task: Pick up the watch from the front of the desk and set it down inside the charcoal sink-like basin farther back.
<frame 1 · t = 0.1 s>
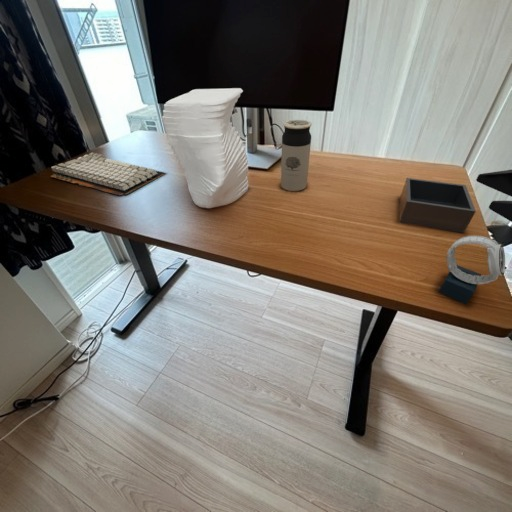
hand: (483, 190, 40), 18 cm above the table, tool horizontal, fingers open, 9 cm apart
travel mug: (293, 186, 83), on the table
watch: (455, 290, 49), on the table
basin: (428, 213, 69), on the table
paper stack: (212, 196, 80), on the table
mechanical keyboard: (107, 175, 94), on the table
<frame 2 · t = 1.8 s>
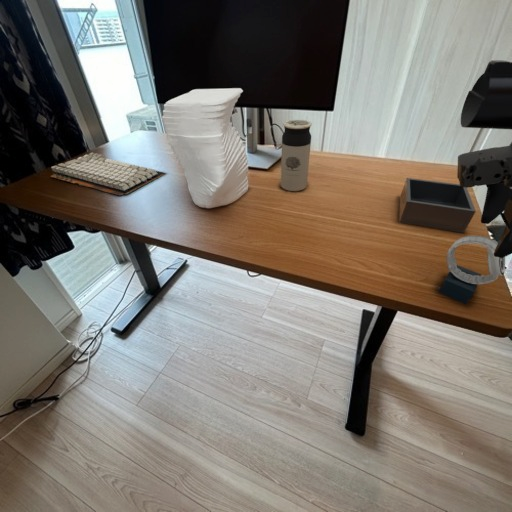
hand: (490, 238, 41), 12 cm above the table, tool pointing down, fingers open, 9 cm apart
nothing on the table moved.
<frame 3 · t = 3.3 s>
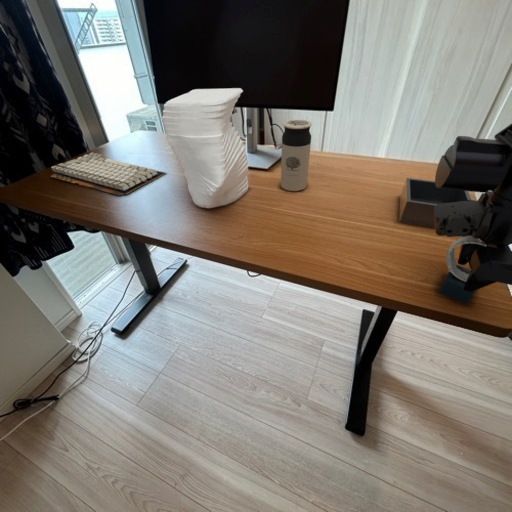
hand: (463, 276, 47), 3 cm above the table, tool pointing down, fingers closed on watch, 7 cm apart
watch: (455, 290, 49), on the table, touching gripper
everything else where it was.
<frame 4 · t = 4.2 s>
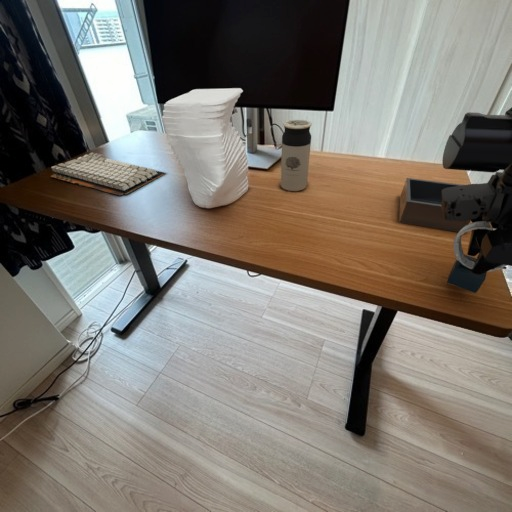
hand: (473, 263, 45), 6 cm above the table, tool pointing down, fingers closed on watch, 4 cm apart
watch: (463, 280, 48), point 2 cm above the table, touching gripper
everything else where it was.
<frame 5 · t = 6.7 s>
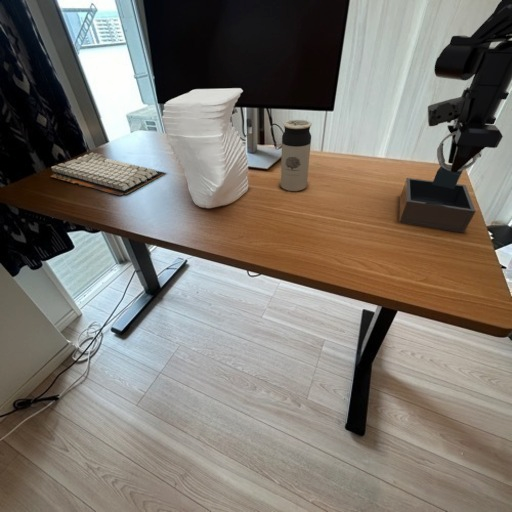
hand: (452, 167, 59), 13 cm above the table, tool pointing down, fingers closed on watch, 4 cm apart
watch: (445, 183, 62), point 9 cm above the table, touching gripper
everything else where it was.
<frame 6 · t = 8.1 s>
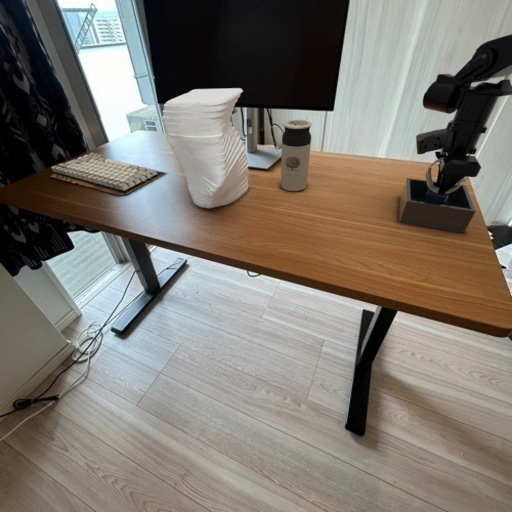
hand: (439, 189, 64), 7 cm above the table, tool pointing down, fingers closed on watch, 4 cm apart
watch: (433, 204, 67), point 3 cm above the table, touching gripper
everything else where it was.
when the fingers open (5 cm above the table, at t = 9.2 s): watch stays where it is, resting on basin.
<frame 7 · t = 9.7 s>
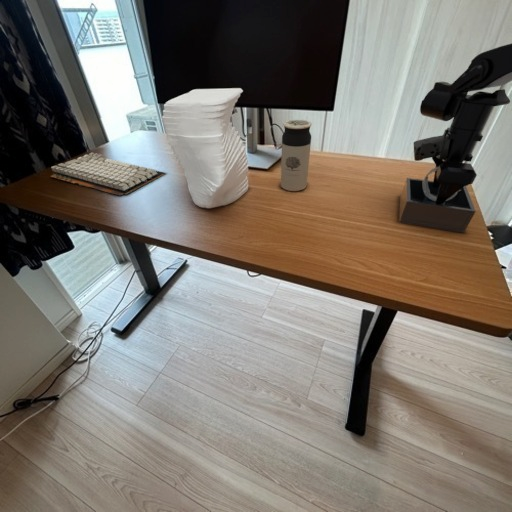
hand: (436, 195, 65), 5 cm above the table, tool pointing down, fingers open, 9 cm apart
watch: (430, 211, 68), point 1 cm above the table, touching basin
everything else where it was.
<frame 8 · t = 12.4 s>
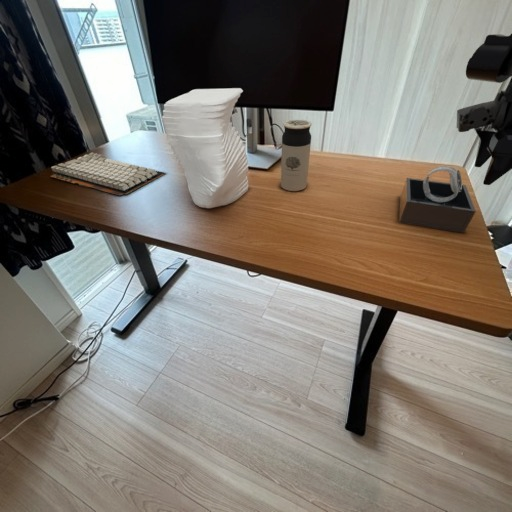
hand: (481, 175, 55), 13 cm above the table, tool pointing down, fingers open, 9 cm apart
nothing on the table moved.
at the end: watch inside the target area in the basin (0.3 cm from its centre), point 0.6 cm above the basin's base; the gripper is holding nothing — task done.
